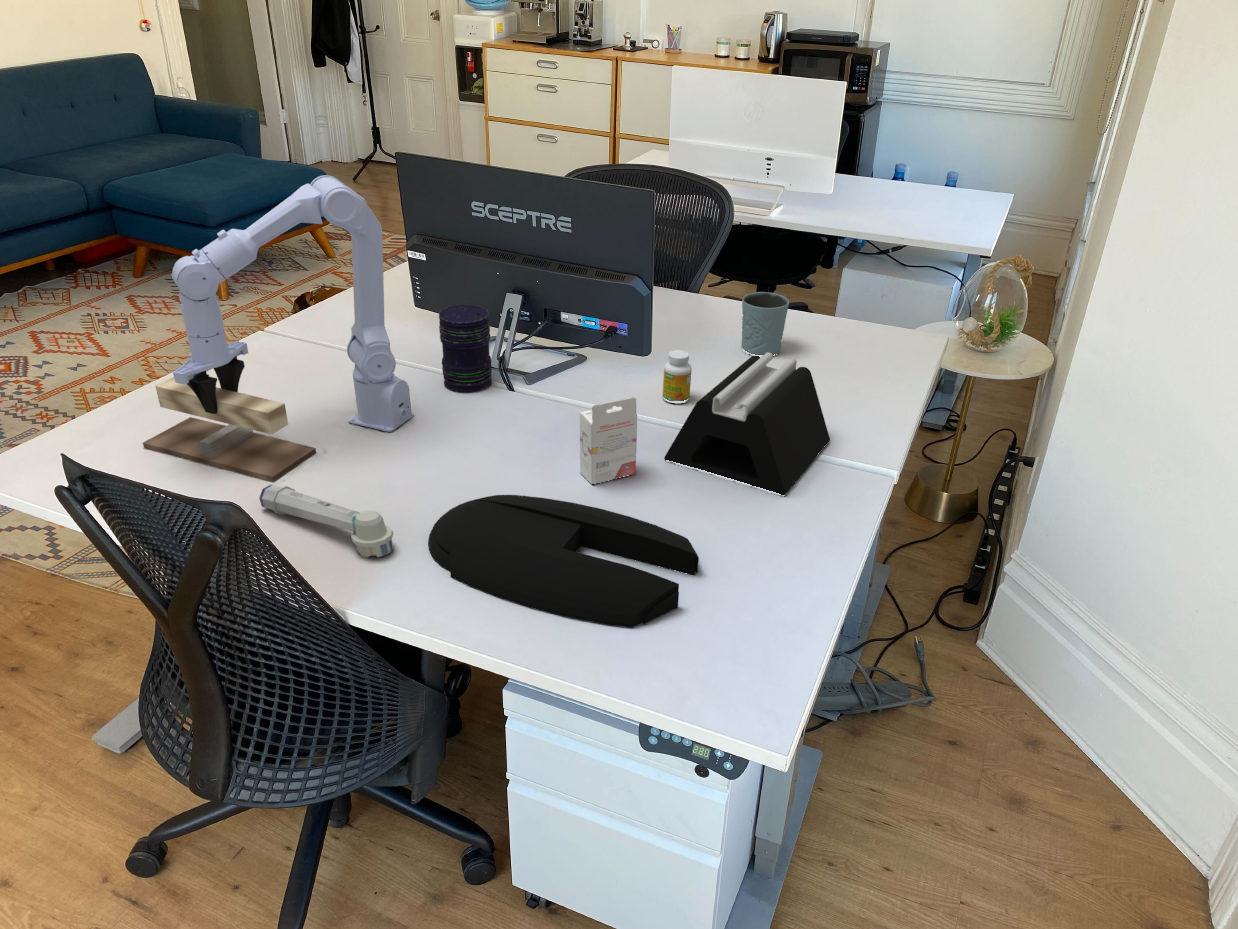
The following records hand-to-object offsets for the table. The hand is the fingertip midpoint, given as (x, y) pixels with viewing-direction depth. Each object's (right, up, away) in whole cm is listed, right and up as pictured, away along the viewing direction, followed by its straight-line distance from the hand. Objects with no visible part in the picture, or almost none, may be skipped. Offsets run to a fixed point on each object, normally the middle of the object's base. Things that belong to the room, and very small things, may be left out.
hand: (221, 406), depth 156 cm
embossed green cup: (+99, +16, +50) cm, 112 cm away
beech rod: (0, -2, +1) cm, 2 cm away
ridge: (0, -7, +4) cm, 8 cm away
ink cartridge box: (+66, -12, +1) cm, 67 cm away
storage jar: (+37, +7, +31) cm, 49 cm away
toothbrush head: (+23, -20, -16) cm, 35 cm away
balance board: (0, -7, +4) cm, 8 cm away
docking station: (+59, -24, -20) cm, 66 cm away
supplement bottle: (+79, +3, +27) cm, 84 cm away
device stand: (+91, -8, +9) cm, 92 cm away
